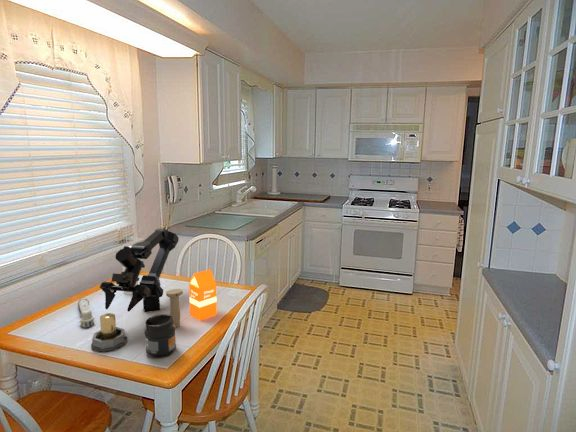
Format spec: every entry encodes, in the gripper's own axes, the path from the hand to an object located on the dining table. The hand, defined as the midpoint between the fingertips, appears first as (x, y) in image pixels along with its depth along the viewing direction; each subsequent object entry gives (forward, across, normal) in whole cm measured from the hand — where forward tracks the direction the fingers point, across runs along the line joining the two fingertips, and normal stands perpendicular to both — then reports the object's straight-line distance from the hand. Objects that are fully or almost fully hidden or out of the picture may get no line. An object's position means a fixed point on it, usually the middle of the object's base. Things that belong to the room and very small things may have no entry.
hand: (117, 310), depth 143 cm
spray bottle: (-20, -20, +36) cm, 46 cm away
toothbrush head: (-1, -24, +17) cm, 29 cm away
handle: (-1, +18, +16) cm, 24 cm away
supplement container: (+12, +21, +3) cm, 25 cm away
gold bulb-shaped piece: (+11, 0, +3) cm, 11 cm away
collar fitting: (+12, 0, +3) cm, 12 cm away
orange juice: (-9, +25, +25) cm, 36 cm away
